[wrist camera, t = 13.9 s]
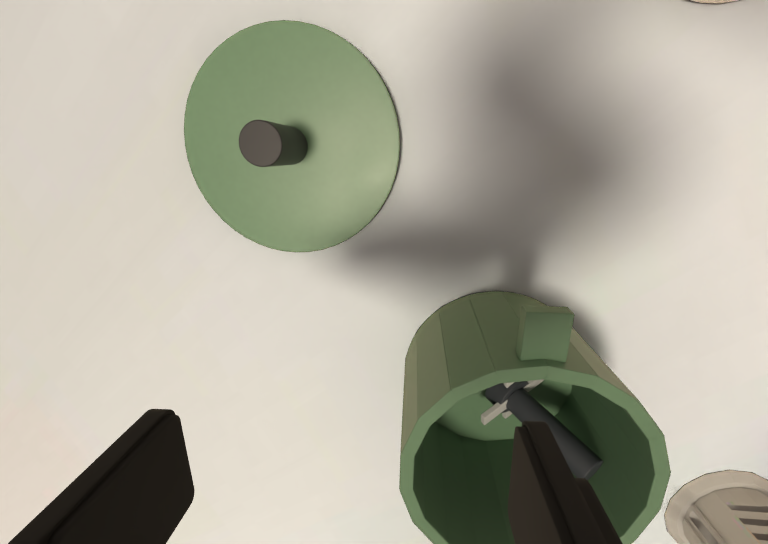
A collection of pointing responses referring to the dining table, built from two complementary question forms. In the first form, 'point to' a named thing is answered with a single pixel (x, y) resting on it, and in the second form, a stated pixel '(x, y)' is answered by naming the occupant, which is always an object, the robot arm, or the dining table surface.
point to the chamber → (495, 439)
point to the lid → (291, 136)
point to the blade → (528, 408)
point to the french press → (720, 510)
